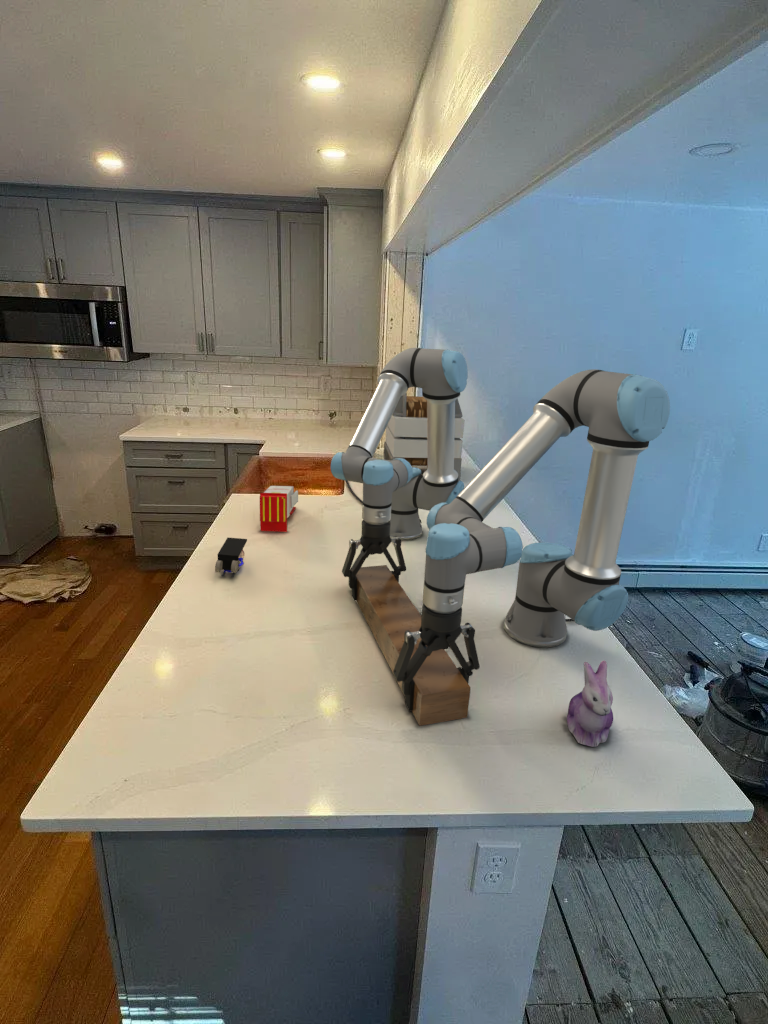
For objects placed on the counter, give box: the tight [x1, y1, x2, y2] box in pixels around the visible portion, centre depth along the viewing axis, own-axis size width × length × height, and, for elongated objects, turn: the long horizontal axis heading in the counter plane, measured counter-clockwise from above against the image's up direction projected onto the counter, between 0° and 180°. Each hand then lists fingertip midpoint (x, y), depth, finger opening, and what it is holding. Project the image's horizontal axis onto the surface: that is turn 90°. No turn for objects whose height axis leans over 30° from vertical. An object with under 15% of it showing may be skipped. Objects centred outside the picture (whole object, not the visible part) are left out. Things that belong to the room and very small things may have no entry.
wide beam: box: [350, 564, 471, 727], centre depth 133 cm, size 56×10×7 cm, turn 17°
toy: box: [259, 485, 299, 533], centre depth 208 cm, size 12×13×30 cm
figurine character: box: [214, 537, 248, 578], centre depth 166 cm, size 7×8×15 cm
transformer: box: [383, 392, 465, 481], centre depth 268 cm, size 34×33×41 cm
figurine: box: [566, 660, 614, 748], centre depth 106 cm, size 9×10×15 cm
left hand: (373, 596), depth 155 cm, fingers closed on wide beam, 10 cm apart
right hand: (434, 702), depth 114 cm, fingers closed on wide beam, 10 cm apart
